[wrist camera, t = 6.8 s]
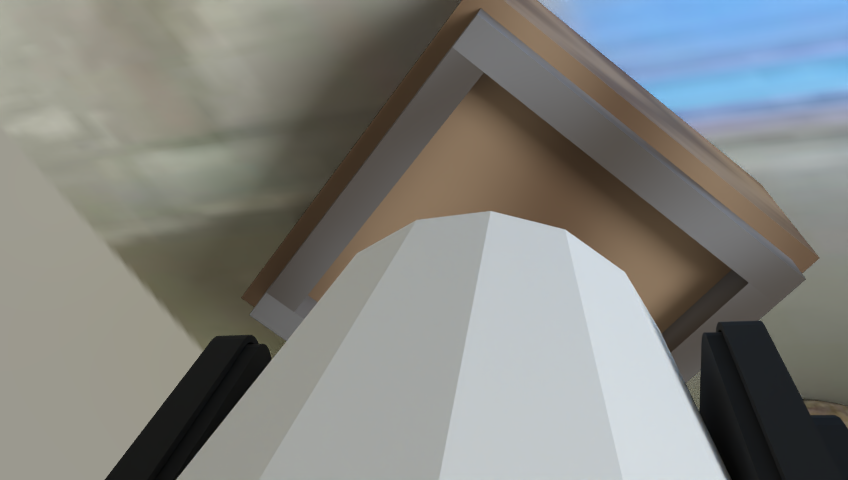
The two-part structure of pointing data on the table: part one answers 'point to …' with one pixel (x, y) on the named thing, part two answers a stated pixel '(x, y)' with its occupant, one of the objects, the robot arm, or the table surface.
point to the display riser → (547, 179)
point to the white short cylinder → (469, 370)
